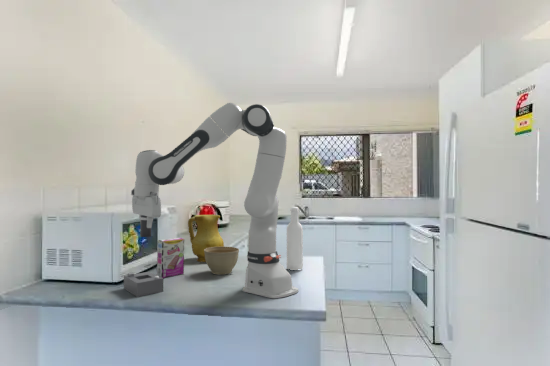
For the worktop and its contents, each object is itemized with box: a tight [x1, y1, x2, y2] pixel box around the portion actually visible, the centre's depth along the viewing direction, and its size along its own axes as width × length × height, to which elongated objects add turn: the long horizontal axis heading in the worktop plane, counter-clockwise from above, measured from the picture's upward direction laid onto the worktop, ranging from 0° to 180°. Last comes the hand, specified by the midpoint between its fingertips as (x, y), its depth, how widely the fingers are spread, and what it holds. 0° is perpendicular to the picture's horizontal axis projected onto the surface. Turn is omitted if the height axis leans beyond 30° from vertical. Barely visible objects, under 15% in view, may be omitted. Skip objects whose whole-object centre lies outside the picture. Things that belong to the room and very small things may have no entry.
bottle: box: [286, 206, 304, 270], centre depth 173 cm, size 8×8×30 cm
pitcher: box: [187, 214, 225, 263], centre depth 195 cm, size 17×19×25 cm
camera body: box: [123, 271, 164, 298], centre depth 139 cm, size 14×10×6 cm
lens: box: [139, 215, 152, 238], centre depth 139 cm, size 4×4×8 cm
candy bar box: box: [156, 237, 185, 279], centre depth 161 cm, size 11×5×16 cm, turn 137°
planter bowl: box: [204, 246, 240, 276], centre depth 166 cm, size 16×16×11 cm
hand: (145, 227), depth 139 cm, fingers closed on lens, 4 cm apart
